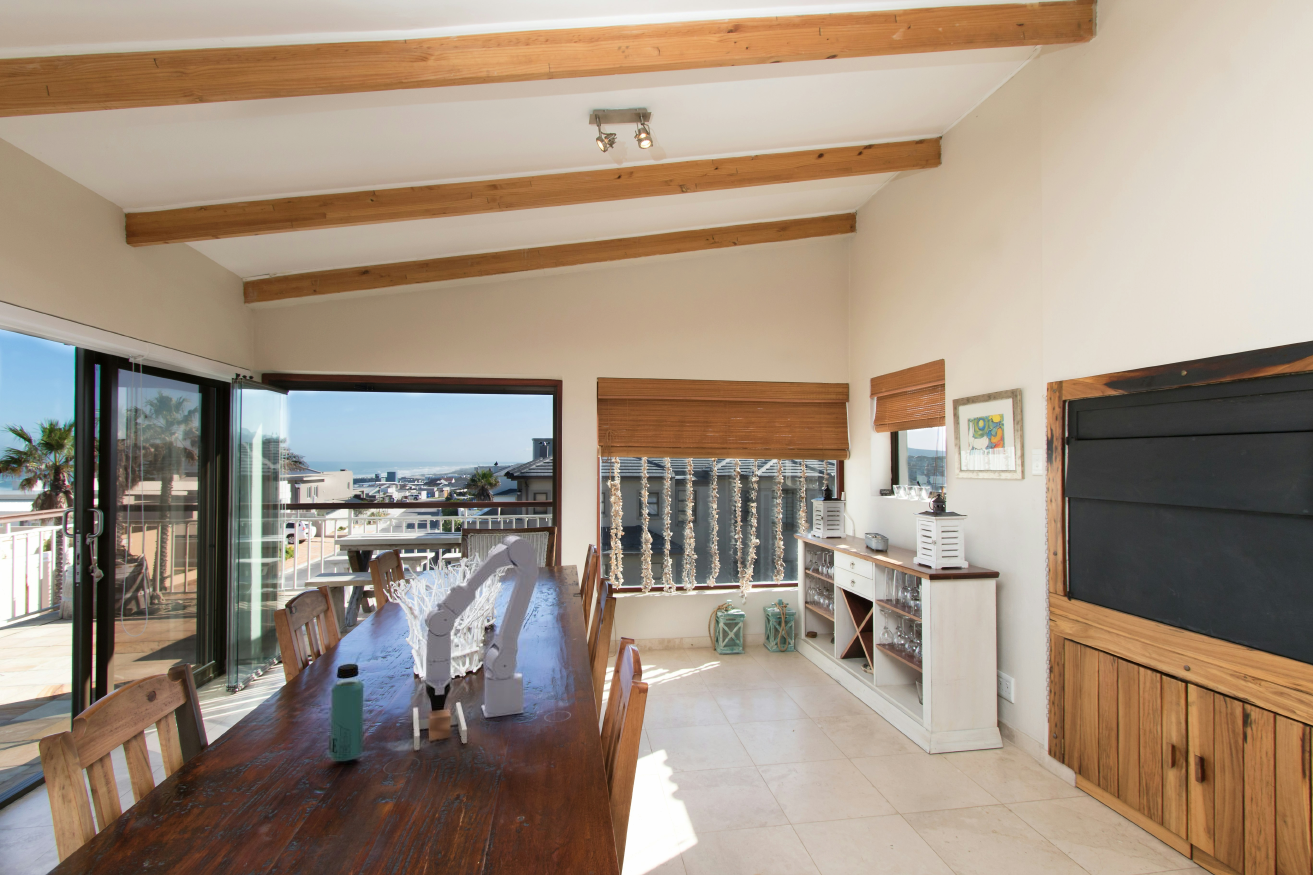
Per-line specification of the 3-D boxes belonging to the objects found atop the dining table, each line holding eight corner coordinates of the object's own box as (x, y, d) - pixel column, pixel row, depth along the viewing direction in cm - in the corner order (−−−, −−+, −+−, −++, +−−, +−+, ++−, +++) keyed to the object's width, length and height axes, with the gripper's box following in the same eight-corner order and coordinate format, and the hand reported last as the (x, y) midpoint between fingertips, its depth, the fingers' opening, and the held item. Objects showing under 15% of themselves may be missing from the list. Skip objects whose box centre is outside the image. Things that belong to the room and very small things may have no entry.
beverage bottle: (370, 757, 138) (372, 662, 139) (345, 771, 132) (348, 671, 133) (345, 753, 141) (348, 659, 141) (320, 766, 134) (323, 667, 135)
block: (448, 730, 153) (449, 708, 153) (450, 737, 149) (450, 715, 149) (428, 733, 152) (429, 711, 152) (429, 740, 147) (429, 718, 148)
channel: (459, 714, 163) (460, 702, 163) (466, 742, 146) (466, 729, 146) (413, 720, 159) (413, 707, 159) (414, 750, 142) (414, 736, 142)
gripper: (420, 652, 164) (419, 707, 164) (422, 668, 151) (420, 728, 150) (449, 649, 167) (448, 703, 166) (453, 665, 154) (452, 724, 153)
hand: (437, 715), depth 159 cm, fingers closed
